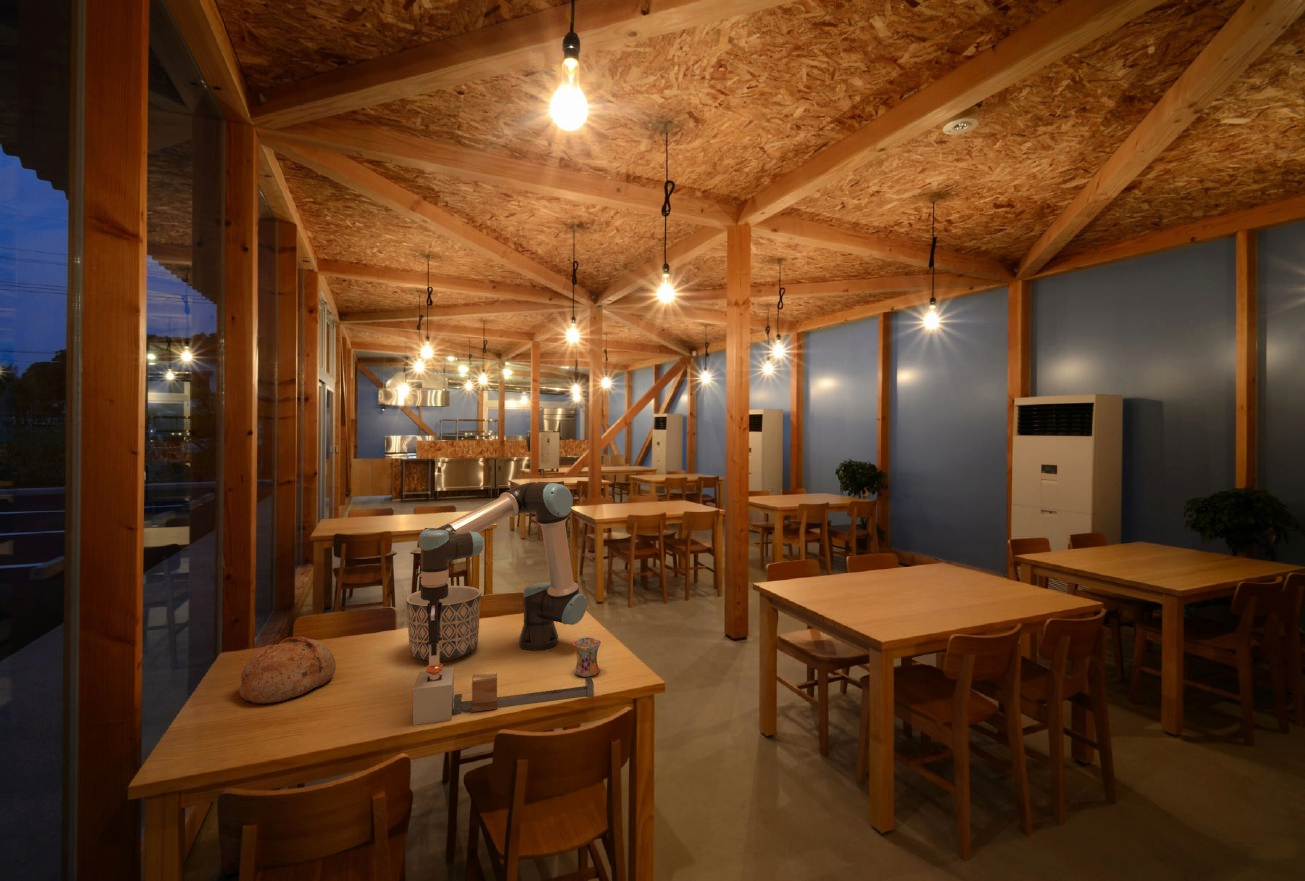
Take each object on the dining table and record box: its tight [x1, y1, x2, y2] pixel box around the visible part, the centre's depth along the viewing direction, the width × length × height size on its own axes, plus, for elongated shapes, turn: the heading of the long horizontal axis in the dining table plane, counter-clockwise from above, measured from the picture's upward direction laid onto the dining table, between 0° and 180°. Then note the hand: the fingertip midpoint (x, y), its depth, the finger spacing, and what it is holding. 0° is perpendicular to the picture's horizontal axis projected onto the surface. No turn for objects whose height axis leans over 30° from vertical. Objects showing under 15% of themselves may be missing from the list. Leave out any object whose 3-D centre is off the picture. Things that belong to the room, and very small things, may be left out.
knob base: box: [412, 667, 455, 726], centre depth 162 cm, size 12×10×10 cm
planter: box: [405, 585, 482, 663], centre depth 205 cm, size 26×26×22 cm
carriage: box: [471, 671, 498, 713], centre depth 165 cm, size 5×7×9 cm
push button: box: [425, 662, 444, 681], centre depth 162 cm, size 4×4×6 cm
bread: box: [238, 636, 337, 704], centre depth 178 cm, size 26×23×15 cm
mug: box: [572, 636, 601, 678], centre depth 190 cm, size 12×9×11 cm
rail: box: [453, 677, 595, 715], centre depth 168 cm, size 4×41×4 cm, turn 107°
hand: (434, 664), depth 162 cm, fingers closed
